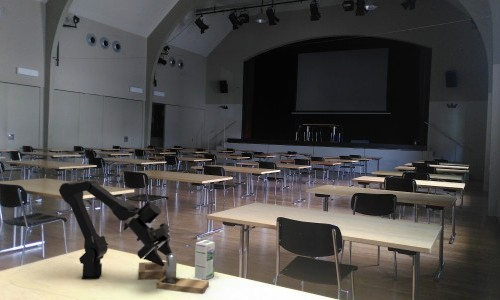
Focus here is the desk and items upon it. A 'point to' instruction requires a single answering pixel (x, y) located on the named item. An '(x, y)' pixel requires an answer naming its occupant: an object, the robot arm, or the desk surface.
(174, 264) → the axle
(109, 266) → the desk surface
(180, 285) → the brown wooden board
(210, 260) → the syrup box
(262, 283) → the desk surface
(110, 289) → the desk surface
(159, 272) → the socket block
